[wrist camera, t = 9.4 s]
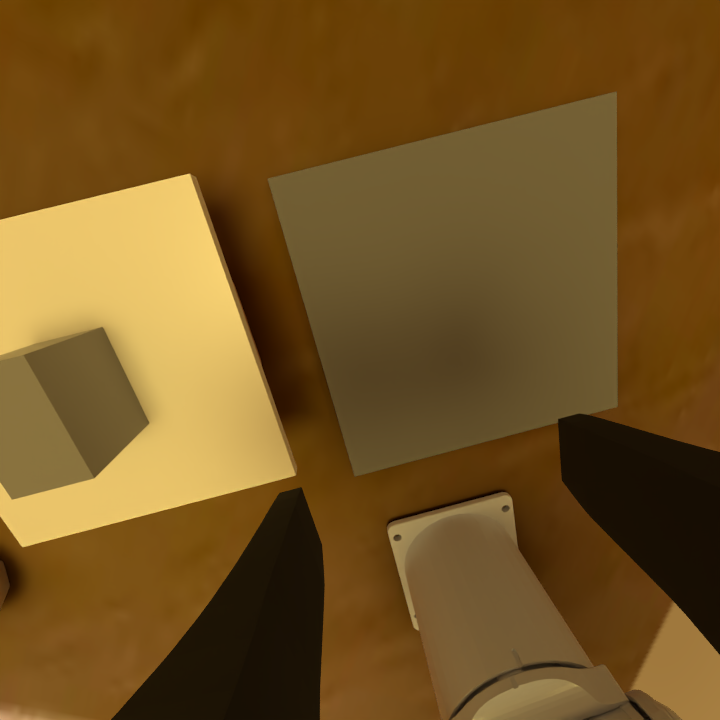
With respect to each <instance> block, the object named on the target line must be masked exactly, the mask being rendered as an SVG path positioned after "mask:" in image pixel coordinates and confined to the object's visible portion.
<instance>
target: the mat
mask: <svg viewBox="0 0 720 720" xmlns="http://www.w3.org/2000/svg"><path fill="white" fill-rule="evenodd" d="M268 182H269V185H270V189H271V192H272V196H273V199H274V203H275V206H276V209H277V213H278V216H279V220H280V223H281V226H282V230H283V233H284V237H285V240H286V244H287V247H288V250H289V254H290V257H291V261H292V264H293V267H294V271H295V274H296V278H297V281H298V285H299V288H300V291H301V295H302V298H303V302H304V305H305V308H306V312H307V315H308V319H309V322H310V326H311V329H312V332H313V336H314V339H315V343H316V346H317V349H318V353H319V356H320V360H321V363H322V367H323V370H324V373H325V377H326V380H327V384H328V387H329V390H330V394H331V397H332V401H333V404H334V408H335V411H336V414H337V418H338V421H339V425H340V428H341V431H342V435H343V438H344V442H345V445H346V449H347V452H348V455H349V459H350V462H351V466H352V469H353V472H354V476H359V475H363V474H367V473H370V472H374V471H378V470H382V469H385V468H389V467H393V466H397V465H400V464H404V463H408V462H412V461H415V460H419V459H423V458H427V457H430V456H434V455H438V454H442V453H445V452H449V451H453V450H457V449H460V448H464V447H468V446H472V445H476V444H479V443H483V442H487V441H491V440H494V439H498V438H502V437H506V436H509V435H513V434H517V433H521V432H524V431H528V430H532V429H536V428H539V427H543V426H547V425H551V424H554V423H558V419H560V418H564V417H567V416H571V415H575V414H579V413H581V414H585V415H588V414H592V413H596V412H600V411H603V410H607V409H611V408H615V407H618V378H617V92H613V93H609V94H605V95H601V96H597V97H593V98H589V99H585V100H581V101H577V102H573V103H569V104H565V105H561V106H557V107H553V108H549V109H545V110H541V111H537V112H533V113H529V114H525V115H521V116H517V117H513V118H509V119H505V120H501V121H497V122H493V123H489V124H485V125H481V126H477V127H473V128H469V129H465V130H461V131H457V132H453V133H449V134H445V135H441V136H437V137H433V138H429V139H425V140H421V141H417V142H413V143H409V144H405V145H401V146H397V147H393V148H389V149H385V150H381V151H377V152H373V153H369V154H365V155H361V156H357V157H353V158H349V159H345V160H341V161H337V162H333V163H329V164H325V165H321V166H317V167H313V168H309V169H305V170H301V171H297V172H293V173H289V174H285V175H281V176H277V177H273V178H269V179H268Z"/></svg>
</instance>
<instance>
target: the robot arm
mask: <svg viewBox="0 0 720 720" xmlns="http://www.w3.org/2000/svg"><path fill="white" fill-rule="evenodd" d="M558 427H559V442H560V458H561V473H562V481H563V482H564V484H565V485H566V486H567V488H568V489H569V490H570V492H571V493H572V494H573V496H574V497H575V498H576V500H577V501H578V502H579V503H580V505H581V506H582V507H583V508H584V510H585V511H586V512H587V513H588V514H589V515H590V516H591V518H592V519H593V520H594V521H595V522H596V523H597V524H598V525H599V526H600V527H601V528H602V529H603V530H604V531H605V532H606V533H607V534H608V535H609V536H610V537H611V538H612V539H613V540H614V541H615V542H616V543H617V544H618V545H619V546H620V547H621V548H622V549H623V550H624V551H625V552H626V553H627V554H628V555H629V556H630V557H631V558H632V559H633V560H634V561H635V562H636V563H637V564H638V565H639V566H640V567H641V568H642V569H643V570H644V571H645V572H646V573H647V574H648V575H649V577H650V578H651V579H652V580H653V581H654V582H655V583H656V584H657V585H658V586H659V587H660V588H661V589H662V590H663V591H664V592H665V593H666V594H667V595H668V596H669V597H670V598H671V599H672V600H673V601H674V602H675V603H676V604H677V606H678V607H679V608H680V609H681V610H682V611H683V612H684V613H685V614H686V615H687V617H688V618H689V619H690V620H691V621H692V622H693V624H694V625H695V626H696V627H697V628H698V629H699V631H700V632H701V633H702V634H703V635H704V637H705V638H706V639H707V640H708V641H709V642H710V644H711V645H712V646H713V647H714V648H715V649H716V651H717V652H718V653H719V654H720V452H717V451H713V450H709V449H706V448H702V447H698V446H695V445H691V444H687V443H684V442H680V441H677V440H673V439H670V438H666V437H663V436H659V435H656V434H652V433H649V432H646V431H642V430H639V429H635V428H632V427H629V426H625V425H622V424H619V423H615V422H612V421H608V420H605V419H601V418H597V417H594V416H590V415H585V414H581V413H579V414H575V415H571V416H567V417H564V418H560V419H558ZM505 505H506V506H505ZM503 506H505V507H503ZM502 507H503V508H502ZM387 531H388V535H389V539H390V543H391V546H392V550H393V554H394V557H395V561H396V565H397V568H398V572H399V576H400V579H401V583H402V587H403V590H404V594H405V598H406V601H407V605H408V609H409V612H410V616H411V620H412V623H413V627H414V629H416V630H419V631H420V635H421V639H422V643H423V647H424V651H425V655H426V659H427V663H428V667H429V671H430V675H431V679H432V683H433V687H434V691H435V695H436V699H437V703H438V707H439V712H440V716H441V720H682V719H681V718H680V717H679V716H678V715H677V714H676V713H674V712H673V711H672V710H671V709H669V708H668V707H666V706H665V705H663V704H661V703H659V702H657V701H656V700H654V699H653V698H652V697H650V696H649V695H648V694H646V693H644V692H642V691H641V690H632V691H629V692H626V693H624V692H623V691H622V689H621V688H620V686H619V685H618V683H617V682H616V680H615V679H614V677H613V676H612V674H611V673H610V672H609V670H608V669H607V667H606V666H605V665H603V664H602V665H599V666H595V667H594V666H593V664H592V663H591V661H590V660H589V658H588V657H587V655H586V654H585V652H584V650H583V649H582V647H581V646H580V644H579V643H578V641H577V640H576V638H575V636H574V635H573V633H572V632H571V630H570V629H569V627H568V626H567V624H566V623H565V621H564V619H563V618H562V616H561V615H560V613H559V612H558V610H557V609H556V607H555V605H554V604H553V602H552V601H551V599H550V598H549V596H548V595H547V593H546V591H545V590H544V588H543V587H542V585H541V584H540V582H539V581H538V579H537V577H536V576H535V574H534V573H533V571H532V570H531V568H530V567H529V565H528V563H527V562H526V560H525V559H524V557H523V556H522V554H521V553H520V551H519V549H518V543H517V535H516V527H515V519H514V510H513V502H512V498H511V496H510V495H509V494H508V493H506V492H501V493H497V494H493V495H489V496H486V497H482V498H478V499H474V500H471V501H467V502H463V503H460V504H456V505H452V506H448V507H445V508H441V509H437V510H434V511H430V512H426V513H422V514H419V515H415V516H411V517H408V518H404V519H400V520H396V521H393V522H391V523H389V524H388V526H387ZM395 535H399V536H395ZM324 585H325V584H324V566H323V553H322V544H321V541H320V538H319V535H318V532H317V530H316V527H315V524H314V521H313V518H312V516H311V513H310V510H309V507H308V504H307V502H306V499H305V496H304V493H303V490H302V487H300V488H297V489H293V490H289V491H285V492H282V493H279V495H278V496H277V498H276V500H275V501H274V503H273V504H272V506H271V508H270V509H269V511H268V513H267V514H266V516H265V518H264V519H263V521H262V523H261V524H260V526H259V528H258V529H257V531H256V533H255V534H254V536H253V538H252V539H251V541H250V542H249V544H248V546H247V547H246V549H245V550H244V552H243V554H242V555H241V557H240V558H239V560H238V561H237V563H236V565H235V566H234V568H233V569H232V570H231V572H230V573H229V575H228V576H227V578H226V579H225V581H224V582H223V584H222V585H221V587H220V588H219V589H218V591H217V592H216V594H215V595H214V597H213V598H212V600H211V601H210V602H209V604H208V605H207V606H206V608H205V609H204V610H203V612H202V613H201V614H200V616H199V617H198V618H197V620H196V621H195V622H194V624H193V625H192V626H191V627H190V629H189V630H188V631H187V632H186V634H185V635H184V636H183V637H182V639H181V640H180V641H179V642H178V644H177V645H176V646H175V647H174V649H173V650H172V651H171V652H170V653H169V655H168V656H167V657H166V658H165V659H164V661H163V662H162V663H161V664H160V665H159V666H158V667H157V669H156V670H155V671H154V672H153V673H152V674H151V675H150V676H149V678H148V679H147V680H146V681H145V682H144V683H143V684H142V686H141V687H140V688H139V689H138V690H137V691H136V692H135V694H134V695H133V696H132V697H131V698H130V699H129V700H128V701H127V703H126V704H125V705H124V706H123V707H122V708H121V709H120V711H119V712H118V713H117V714H116V715H115V716H114V717H113V718H112V719H111V720H320V677H321V655H322V633H323V611H324Z"/></svg>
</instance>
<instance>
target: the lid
mask: <svg viewBox="0 0 720 720" xmlns="http://www.w3.org/2000/svg"><path fill="white" fill-rule="evenodd" d="M296 471H297V466H296V463H295V460H294V457H293V454H292V452H291V449H290V446H289V443H288V440H287V437H286V434H285V431H284V429H283V426H282V423H281V420H280V417H279V414H278V411H277V408H276V405H275V403H274V400H273V397H272V394H271V391H270V388H269V385H268V382H267V380H266V377H265V374H264V371H263V368H262V365H261V362H260V359H259V357H258V354H257V351H256V348H255V345H254V342H253V339H252V336H251V334H250V331H249V328H248V325H247V322H246V319H245V316H244V313H243V311H242V308H241V305H240V302H239V299H238V296H237V293H236V290H235V288H234V285H233V282H232V279H231V276H230V273H229V270H228V267H227V265H226V262H225V259H224V256H223V253H222V250H221V247H220V244H219V241H218V239H217V236H216V233H215V230H214V227H213V224H212V221H211V218H210V216H209V213H208V210H207V207H206V204H205V201H204V198H203V195H202V193H201V190H200V187H199V184H198V181H197V178H196V177H195V176H193V175H191V174H186V175H182V176H178V177H174V178H170V179H166V180H162V181H158V182H153V183H149V184H145V185H141V186H137V187H133V188H129V189H125V190H121V191H117V192H112V193H108V194H104V195H100V196H96V197H92V198H88V199H84V200H80V201H76V202H71V203H67V204H63V205H59V206H55V207H51V208H47V209H43V210H39V211H35V212H30V213H26V214H22V215H18V216H14V217H10V218H6V219H2V220H0V517H1V518H2V519H3V521H4V522H5V524H6V525H7V526H8V528H9V529H10V531H11V532H12V533H13V535H14V536H15V538H16V539H17V541H18V542H19V543H20V545H21V546H22V547H25V546H29V545H33V544H36V543H40V542H44V541H48V540H52V539H55V538H59V537H63V536H67V535H71V534H75V533H78V532H82V531H86V530H90V529H94V528H98V527H101V526H105V525H109V524H113V523H117V522H120V521H124V520H128V519H132V518H136V517H140V516H143V515H147V514H151V513H155V512H159V511H163V510H166V509H170V508H174V507H178V506H182V505H185V504H189V503H193V502H197V501H201V500H205V499H208V498H212V497H216V496H220V495H224V494H227V493H231V492H235V491H239V490H243V489H247V488H250V487H254V486H258V485H262V484H266V483H270V482H273V481H277V480H281V479H285V478H289V477H292V476H296Z"/></svg>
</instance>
